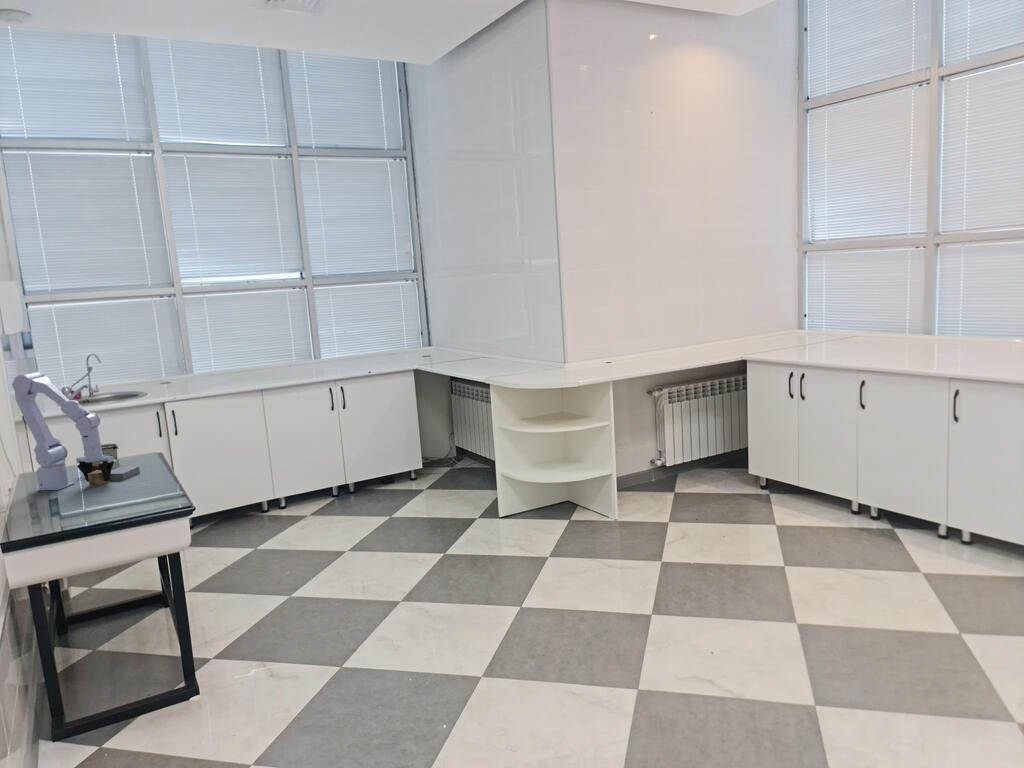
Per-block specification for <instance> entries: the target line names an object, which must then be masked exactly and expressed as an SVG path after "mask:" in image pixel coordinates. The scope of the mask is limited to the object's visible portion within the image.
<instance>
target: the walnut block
mask: <svg viewBox="0 0 1024 768" xmlns="http://www.w3.org/2000/svg"><path fill="white" fill-rule="evenodd" d="M88 480H89V482H88V483H89V484H88V485H89V487H102V486H104V485H107V484H108V483H109V482H110V480H108V481H104V478H103V474H102V471H101V470H96V471H93V472H91V473H88Z"/></svg>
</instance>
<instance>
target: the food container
mask: <svg viewBox="0 0 1024 768" xmlns="http://www.w3.org/2000/svg"><path fill="white" fill-rule="evenodd" d="M101 448H102V453H103V455H105V456H113V460H118V450H119V446H118V445H117V443H103V444H101ZM83 455H84V456H83V457H85V453H84V454H83ZM100 463H102V462H93V463H92V472H93V471H96V470H101V469H100V467H99V466H98V464H100Z"/></svg>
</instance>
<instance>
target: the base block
mask: <svg viewBox="0 0 1024 768" xmlns="http://www.w3.org/2000/svg"><path fill="white" fill-rule="evenodd" d="M138 473H139V474H140V473H141V470H140V466H120V467H118V468H116V469H114V470H111V475H110V480H109V481H125V480H127V479H130V478H132V477H135V476H136V474H137V475H138ZM129 477H130V478H129Z"/></svg>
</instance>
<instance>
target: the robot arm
mask: <svg viewBox="0 0 1024 768" xmlns="http://www.w3.org/2000/svg"><path fill="white" fill-rule="evenodd" d="M50 379H51V378H50V377H48V376H46V374H45V373H43V372H42V371H38V370H37V371H33V372H30V373H25V374H20V375H17V376H16V377H14V379H13V382H12V384H11V386H12V389H13V391H14V397H15V399H14V400H15V401H16V404H17V406H18V408H19V409H20V411H21V415H22V417H23V418H24V421H25V422H26V424H27V427H28V428H29V430H30V431H31V434H32V436H33V438H34V440H35V443H36V444H35V447H34V450H33V451H34V454H35V460H36V463H37V464H38V465H39V466H38V468H37V470H36V478H37V483H38V488H37V491H59V490H62V489H64V488H67V487H70V486H72V485H75V482H74V481H72V482H69V477H68V473H67V466H66V458H67V457H68V452H69V451H68V449H67V448H66V447H65V445H63V444H62V442H61V440H60V439H58V438H55V437H54V436H53V434H52V432H51V430H50V428H49V426H48V423H47V421H46V420H45V418H44V416H43V414H42V412H41V409H40V407H39V406H38V403H37V402H36V397H37V395H38V394H44V395H45V396H46V397H48V398H49V399H50V400H52V401H53V402H54V403H55V404H57V405H58V406H60V411H61V412H62V414H64V415H65V416H67V417H68V418H69V419H70V420H72V421H73V422H74V423H75V424H74V426H75V428H76V429H77V430H78V432H79V434H80V436H81V442H82V446H83V452H84V453H85V456H79V457H76V458H75V459H76V461H75V462H76V464H77V465H76V468H78V469H79V470H80V471H81V473H82V475H83V476H84V478H85V480H86V482H88V483H89V480H88V473H91V472H92V463H93V462H102V463H101V464H98V466H99V467H100V469H101V471H102V474H103V478H104V481H108V480H109V481H111V480H110V475H111V469H112V466H113V464H114V460H113V456H105V455H103V453H102V448H101V445H102V443H101V439H100V432H99V426H100V424H101V419H100V417H99V416H98V414H97V413H95V412H90V411H89V410H87V409H86V408H85V407H83V406H82V405H81V404H80V402H79V401H78V400H75V399H69V398H67V396H65V395H64V394H63V392H61V391H60V390H59V389H58V388H57V387H56V386H55V385H54V384H53V383H52V381H51V380H50Z"/></svg>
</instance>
